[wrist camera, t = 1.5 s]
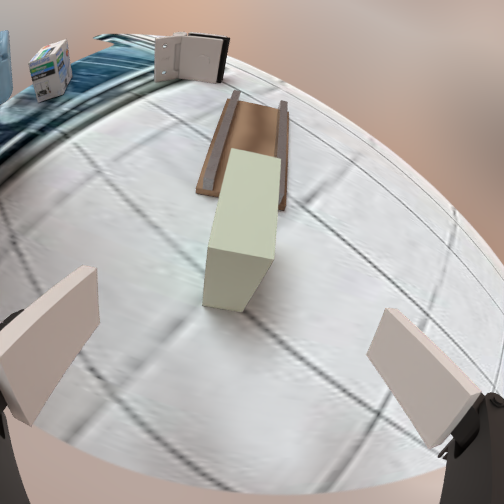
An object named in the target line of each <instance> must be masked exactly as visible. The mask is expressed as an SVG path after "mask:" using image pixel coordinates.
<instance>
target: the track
mask: <svg viewBox="0 0 504 504" xmlns="http://www.w3.org/2000/svg"><path fill="white" fill-rule="evenodd" d="M240 92H241V91H236V90H234V91H233V93H232V96H231V99H227V101H226V104H225V106H224V109H223V111H222V114H221V117H220V119H219V122H218V125H217V128H216V130H215V133H214V136H213V139H212V141H211V144H210V147H209V150H208V153H207V156H206V159H205V162H204V165H203V168H202V171H201V174H200V177H199V180H198V183H197V186H196V193H198V194H204V195H209V196H215V197H219V195H220V191H221V187H222V183H223V179H224V175H225V171H226V167H227V163H228V159H229V155H230V151H231V148H234V149H239V150H244V151H249V152H253V153H258V154H262V155H267V156H271V157H275V158H279V159H281V169H280V185H279V200H278V210H282V211H284V209H285V207H286V193H287V167H288V130H289V112H287V102H286V101H282V100H281V101H280V104H279V107H278V109H275V108H271V107H267V106H263V105H258V104H253V103H249V102H244V101H239V97H240Z"/></svg>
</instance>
